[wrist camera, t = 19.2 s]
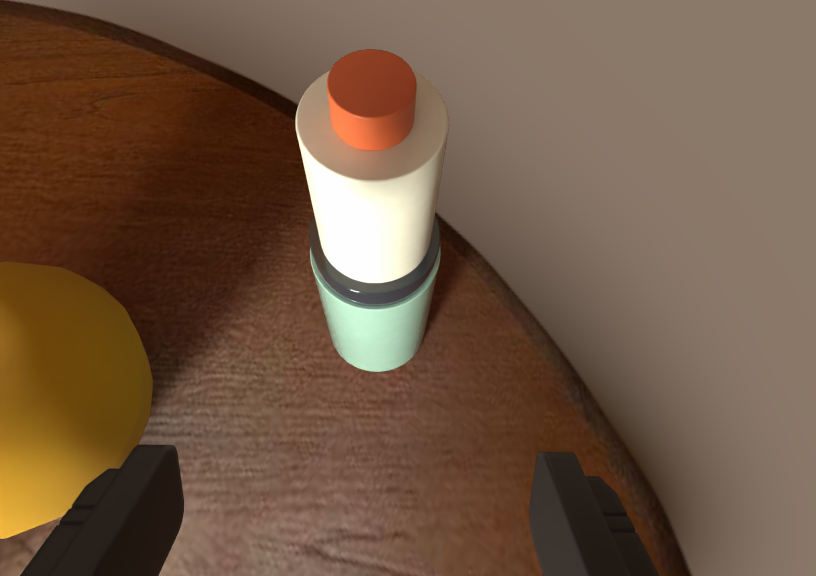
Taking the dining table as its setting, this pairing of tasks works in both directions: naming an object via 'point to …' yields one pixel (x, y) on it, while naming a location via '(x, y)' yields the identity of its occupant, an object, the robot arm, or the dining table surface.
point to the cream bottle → (373, 163)
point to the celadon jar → (376, 308)
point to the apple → (63, 390)
